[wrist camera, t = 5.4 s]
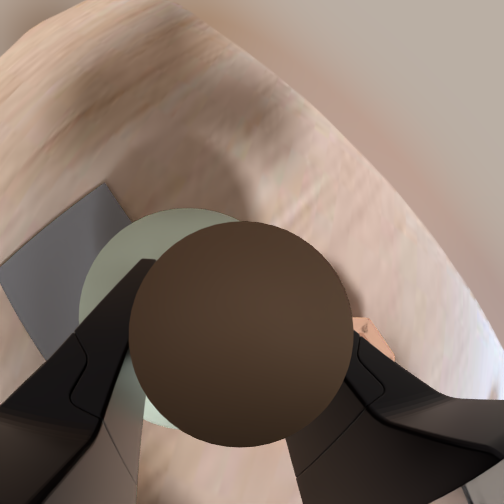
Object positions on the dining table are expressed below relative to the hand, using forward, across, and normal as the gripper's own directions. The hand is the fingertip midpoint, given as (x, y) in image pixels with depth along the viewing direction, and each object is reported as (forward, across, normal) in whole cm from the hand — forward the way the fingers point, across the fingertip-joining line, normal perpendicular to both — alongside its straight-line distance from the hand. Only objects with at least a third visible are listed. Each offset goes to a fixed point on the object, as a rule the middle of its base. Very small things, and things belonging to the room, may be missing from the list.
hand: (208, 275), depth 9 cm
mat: (+10, +7, +9) cm, 15 cm away
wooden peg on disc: (+4, 0, +6) cm, 8 cm away
